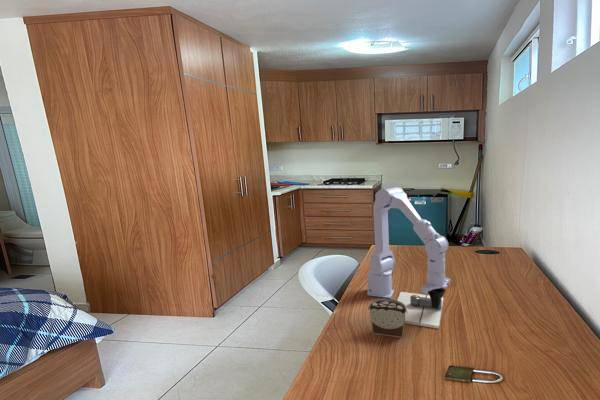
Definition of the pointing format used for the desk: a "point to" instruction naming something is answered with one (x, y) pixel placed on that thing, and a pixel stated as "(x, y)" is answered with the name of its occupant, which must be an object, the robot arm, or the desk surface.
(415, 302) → the bar
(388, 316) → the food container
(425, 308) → the door board
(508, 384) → the desk surface
